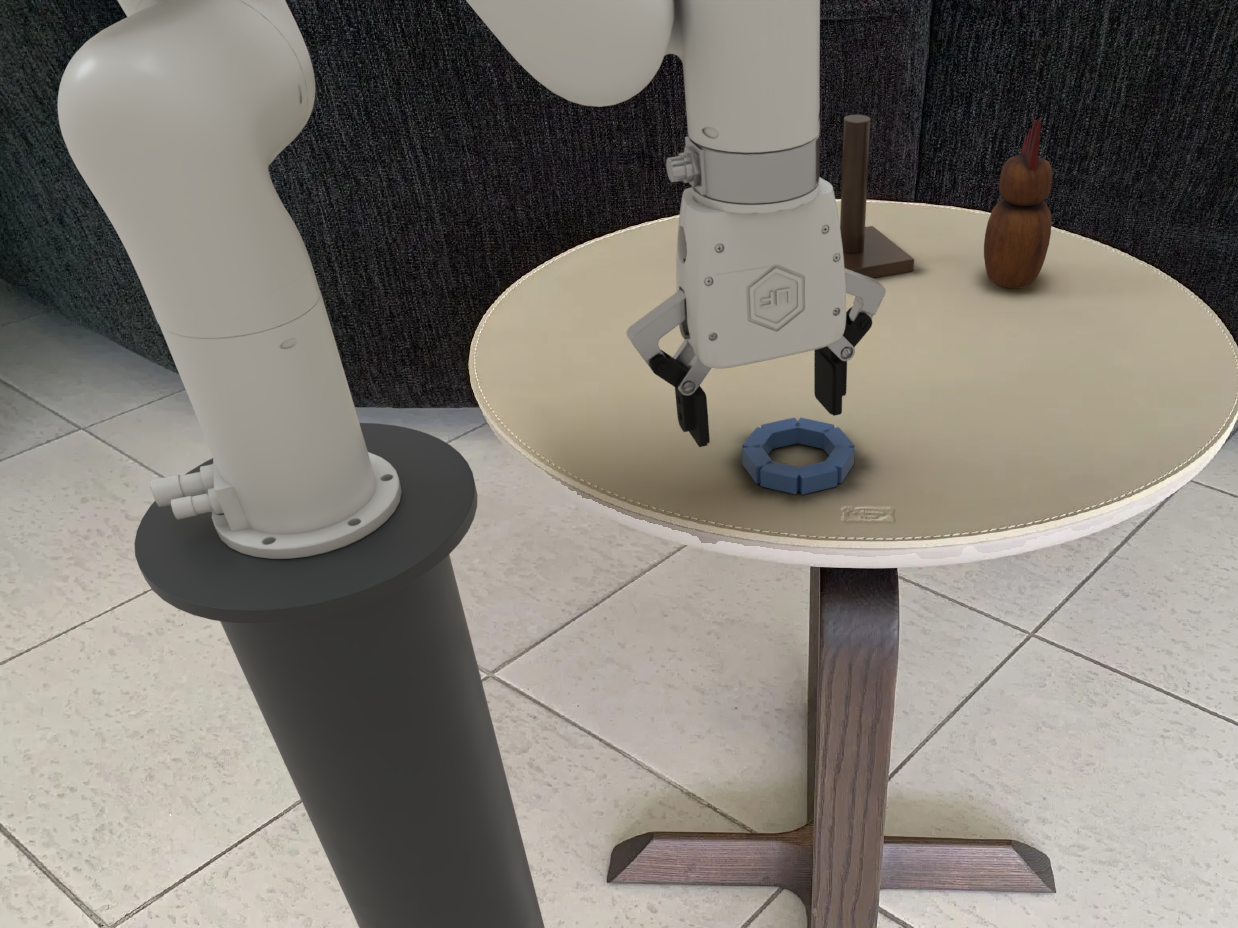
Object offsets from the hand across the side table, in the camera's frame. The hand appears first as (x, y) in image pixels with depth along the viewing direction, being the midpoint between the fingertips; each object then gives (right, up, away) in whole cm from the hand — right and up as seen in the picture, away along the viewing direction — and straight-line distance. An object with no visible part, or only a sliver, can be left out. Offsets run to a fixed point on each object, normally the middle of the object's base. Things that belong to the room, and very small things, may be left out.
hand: (763, 421), depth 73 cm
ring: (+2, -2, +4) cm, 5 cm away
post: (+8, +21, +31) cm, 38 cm away
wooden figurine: (+23, +18, +28) cm, 40 cm away
